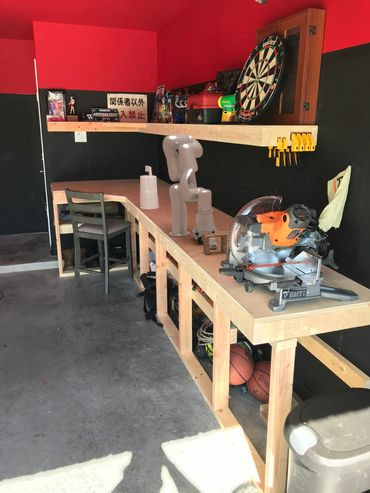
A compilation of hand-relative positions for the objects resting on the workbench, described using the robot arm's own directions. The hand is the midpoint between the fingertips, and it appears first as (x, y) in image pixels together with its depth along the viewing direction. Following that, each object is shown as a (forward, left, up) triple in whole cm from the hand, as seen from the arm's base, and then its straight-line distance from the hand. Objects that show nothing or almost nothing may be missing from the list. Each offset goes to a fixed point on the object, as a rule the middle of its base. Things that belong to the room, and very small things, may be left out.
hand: (204, 242), depth 244 cm
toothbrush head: (0, 0, -1) cm, 1 cm away
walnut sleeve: (+18, 0, -1) cm, 18 cm away
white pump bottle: (-115, -9, -1) cm, 116 cm away
